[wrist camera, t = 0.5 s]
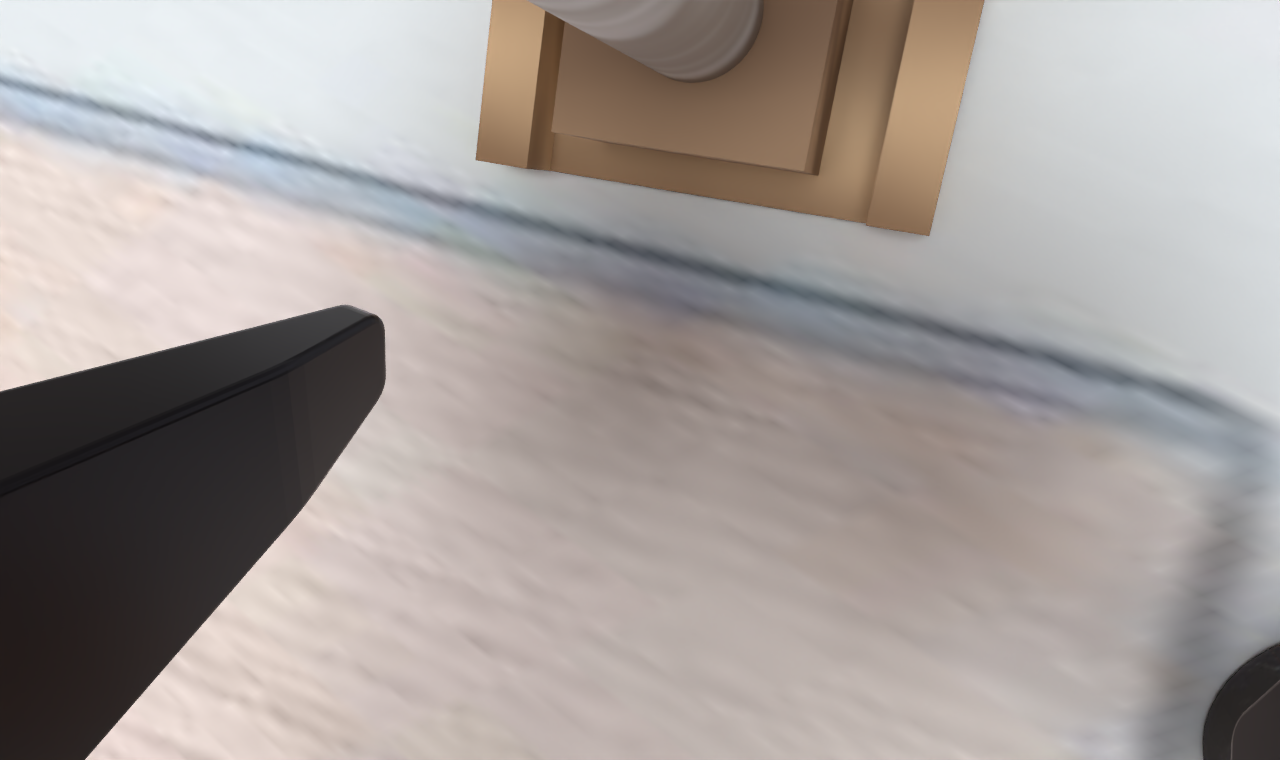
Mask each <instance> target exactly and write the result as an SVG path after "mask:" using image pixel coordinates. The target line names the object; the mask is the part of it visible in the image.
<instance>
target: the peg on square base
mask: <svg viewBox="0 0 1280 760" xmlns="http://www.w3.org/2000/svg"><path fill="white" fill-rule="evenodd" d="M527 1H529V2H531V3H533V4H534V5H536V6H538V7H540V8H542V9H543V10H545V11H547V12H549V13H551V14H553V15H554V16H556V17H558V18H560V19H562V20H563V21H565V26H564V34H563V42H562V50H561V58H560V66H559V74H558V82H557V90H556V98H555V106H554V114H553V122H552V130H551V132H554V133H559V134H564V135H569V136H574V137H579V138H584V139H589V140H594V141H599V142H604V143H610V144H617V145H623V146H630V147H636V148H642V149H649V150H655V151H662V152H668V153H674V154H681V155H687V156H694V157H700V158H706V159H713V160H719V161H726V162H732V163H738V164H745V165H751V166H758V167H764V168H770V169H777V170H783V171H790V172H796V173H802V174H809V175H815V176H818V175H819V170H820V165H821V160H822V155H823V150H824V145H825V140H826V135H827V130H828V125H829V120H830V115H831V110H832V105H833V100H834V95H835V90H836V85H837V80H838V75H839V70H840V65H841V60H842V55H843V50H844V45H845V40H846V35H847V30H848V25H849V20H850V15H851V10H852V5H853V0H527Z"/></svg>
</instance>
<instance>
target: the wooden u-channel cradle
mask: <svg viewBox="0 0 1280 760" xmlns="http://www.w3.org/2000/svg"><path fill="white" fill-rule="evenodd" d="M983 4H984V0H853V5H852V10H851V15H850V20H849V25H848V30H847V35H846V40H845V45H844V50H843V55H842V60H841V65H840V70H839V75H838V80H837V85H836V90H835V95H834V100H833V105H832V110H831V115H830V120H829V125H828V130H827V135H826V140H825V145H824V150H823V155H822V160H821V165H820V170H819V175H818V176H815V175H809V174H802V173H796V172H790V171H783V170H777V169H770V168H764V167H758V166H751V165H745V164H738V163H732V162H726V161H719V160H713V159H706V158H700V157H694V156H687V155H681V154H674V153H668V152H662V151H655V150H649V149H642V148H636V147H630V146H623V145H617V144H610V143H604V142H599V141H594V140H589V139H584V138H579V137H574V136H569V135H564V134H559V133H554V132H551V130H552V122H553V114H554V106H555V98H556V90H557V82H558V74H559V66H560V58H561V50H562V42H563V34H564V26H565V21H563V20H562V19H560V18H558V17H556V16H554V15H553V14H551V13H549V12H547V11H545V10H543V9H542V8H540V7H538V6H536V5H534V4H533V3H531V2H529V1H527V0H492V9H491V19H490V28H489V38H488V48H487V57H486V67H485V76H484V86H483V95H482V105H481V114H480V124H479V133H478V143H477V153H476V160H478V161H484V162H490V163H496V164H502V165H508V166H514V167H520V168H526V169H537V170H548V171H555V172H561V173H567V174H573V175H579V176H585V177H591V178H597V179H603V180H609V181H615V182H621V183H627V184H633V185H639V186H645V187H651V188H657V189H663V190H669V191H675V192H681V193H687V194H693V195H699V196H705V197H711V198H717V199H723V200H729V201H735V202H741V203H747V204H753V205H759V206H765V207H771V208H777V209H783V210H789V211H795V212H801V213H807V214H813V215H819V216H825V217H831V218H837V219H843V220H849V221H855V222H861V223H866V225H867V226H872V227H878V228H884V229H890V230H896V231H902V232H908V233H914V234H920V235H926V236H929V234H930V230H931V226H932V222H933V217H934V213H935V209H936V205H937V200H938V196H939V192H940V187H941V183H942V179H943V175H944V170H945V166H946V162H947V158H948V153H949V149H950V145H951V141H952V136H953V132H954V128H955V124H956V119H957V115H958V111H959V107H960V102H961V98H962V94H963V89H964V85H965V81H966V77H967V72H968V68H969V64H970V60H971V55H972V51H973V47H974V43H975V38H976V34H977V30H978V26H979V21H980V17H981V13H982V8H983Z"/></svg>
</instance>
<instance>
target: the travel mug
mask: <svg viewBox="0 0 1280 760" xmlns="http://www.w3.org/2000/svg"><path fill="white" fill-rule="evenodd" d="M1279 680H1280V645H1277V646H1275V647H1273V648H1270V649H1269V650H1267V651H1265V652H1264V653H1262V654H1260V655H1258V656H1257V657H1255V658H1254V659H1252V660H1251V661H1250V662H1248V663H1247V664H1246V665H1244V666H1243V667H1242V668H1241V669H1239V670H1238V671H1237V673H1236V674H1235V675H1234V676H1233V677H1232V678H1231V679H1230V680H1229V681H1228V682H1227V683H1226V684H1225V686H1224V687H1223V689H1222V690H1221V691H1220V693H1219V694H1218V696H1217V698H1216V700H1215V701H1214V703H1213V705H1212V707H1211V709H1210V712H1209V715H1208V718H1207V721H1206V726H1205V732H1204V760H1231V742H1232V735H1233V731H1234V728H1235V725H1236V723H1237V721H1238V720H1239V718H1240V716H1241V715H1242V714H1243V713H1244V712H1245V711H1246V710H1247V709H1248V708H1249V707H1250V706H1251V705H1253V704H1254V703H1255V702H1256V701H1257V700H1258V699H1259V698H1260V697H1261V696H1263V695H1264V694H1265V693H1266V692H1267V691H1268V690H1269V689H1270V688H1271V687H1273V686H1274V685H1275V684H1276V683H1277V682H1278V681H1279Z"/></svg>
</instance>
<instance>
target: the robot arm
mask: <svg viewBox="0 0 1280 760" xmlns="http://www.w3.org/2000/svg"><path fill="white" fill-rule="evenodd" d="M385 379H386V364H385V329H384V324H383V322H382V320H381V319H380V318H379V317H378V316H376V315H375V314H372V313H369V312H367V311H364V310H361V309H359V308H356V307H353V306H349V305H340V306H335V307H332V308H328V309H324V310H320V311H316V312H312V313H308V314H304V315H300V316H296V317H292V318H288V319H284V320H280V321H276V322H272V323H269V324H265V325H261V326H257V327H253V328H249V329H245V330H241V331H237V332H233V333H229V334H225V335H221V336H217V337H213V338H209V339H206V340H202V341H198V342H194V343H190V344H186V345H182V346H178V347H174V348H170V349H166V350H162V351H158V352H154V353H150V354H146V355H142V356H139V357H135V358H131V359H127V360H123V361H119V362H115V363H111V364H107V365H103V366H99V367H95V368H91V369H87V370H83V371H79V372H75V373H71V374H68V375H64V376H60V377H56V378H52V379H48V380H44V381H40V382H36V383H32V384H28V385H24V386H20V387H16V388H12V389H8V390H4V391H0V760H85V759H86V758H87V757H88V756H89V754H90V753H91V752H92V751H93V750H94V749H95V747H96V746H97V745H98V744H99V743H100V742H101V741H102V739H103V738H104V737H105V736H106V735H107V734H108V732H109V731H110V730H111V729H112V728H113V727H114V726H115V724H116V723H117V722H118V721H119V720H120V719H121V718H122V716H123V715H124V714H125V713H126V712H127V711H128V709H129V708H130V707H131V706H132V705H133V704H134V703H135V701H136V700H137V699H138V698H139V697H140V696H141V694H142V693H143V692H144V691H145V690H146V689H147V688H148V686H149V685H150V684H151V683H152V682H153V681H154V680H155V678H156V677H157V676H158V675H159V674H160V673H161V671H162V670H163V669H164V668H165V667H166V666H167V665H168V663H169V662H170V661H171V660H172V659H173V658H174V657H175V655H176V654H177V653H178V652H179V651H180V650H181V648H182V647H183V646H184V645H185V644H186V643H187V642H188V640H189V639H190V638H191V637H192V636H193V635H194V633H195V632H196V631H197V630H198V629H199V628H200V627H201V625H202V624H203V623H204V622H205V621H206V620H207V619H208V617H209V616H210V615H211V614H212V613H213V612H214V610H215V609H216V608H217V607H218V606H219V605H220V604H221V602H222V601H223V600H224V599H225V598H226V597H227V595H228V594H229V593H230V592H231V591H232V590H233V589H234V587H235V586H236V585H237V584H238V583H239V582H240V581H241V579H242V578H243V577H244V576H245V575H246V574H247V572H248V571H249V570H250V569H251V568H252V567H253V566H254V564H255V563H256V562H257V561H258V560H259V559H260V558H261V556H262V555H263V554H264V553H265V552H266V551H267V549H268V548H269V547H270V546H271V545H272V544H273V543H274V541H275V540H276V539H277V538H278V537H279V536H280V534H281V533H282V532H283V531H284V530H285V529H286V528H287V526H288V525H289V524H290V523H291V522H292V520H293V519H294V518H295V517H296V516H297V514H298V513H299V512H300V511H301V510H302V508H303V507H304V506H305V504H306V503H307V502H308V500H309V499H310V498H311V496H312V495H313V494H314V492H315V491H316V489H317V488H318V487H319V485H320V484H321V482H322V481H323V479H324V478H325V476H326V475H327V474H328V472H329V471H330V469H331V468H332V466H333V465H334V463H335V462H336V460H337V459H338V458H339V456H340V455H341V453H342V452H343V450H344V449H345V447H346V446H347V445H348V443H349V442H350V440H351V439H352V437H353V436H354V434H355V433H356V431H357V430H358V429H359V427H360V426H361V424H362V423H363V421H364V420H365V418H366V417H367V416H368V414H369V413H370V411H371V410H372V408H373V407H374V405H375V404H376V403H377V401H378V399H379V398H380V396H381V394H382V391H383V388H384V385H385ZM1231 760H1280V680H1279V681H1278V682H1277V683H1276V684H1275V685H1274V686H1273V687H1271V688H1270V689H1269V690H1268V691H1267V692H1266V693H1265V694H1264V695H1263V696H1261V697H1260V698H1259V699H1258V700H1257V701H1256V702H1255V703H1254V704H1253V705H1251V706H1250V707H1249V708H1248V709H1247V710H1246V711H1245V712H1244V713H1243V714H1242V715H1241V716H1240V718H1239V720H1238V721H1237V723H1236V725H1235V728H1234V731H1233V735H1232V742H1231Z"/></svg>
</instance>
